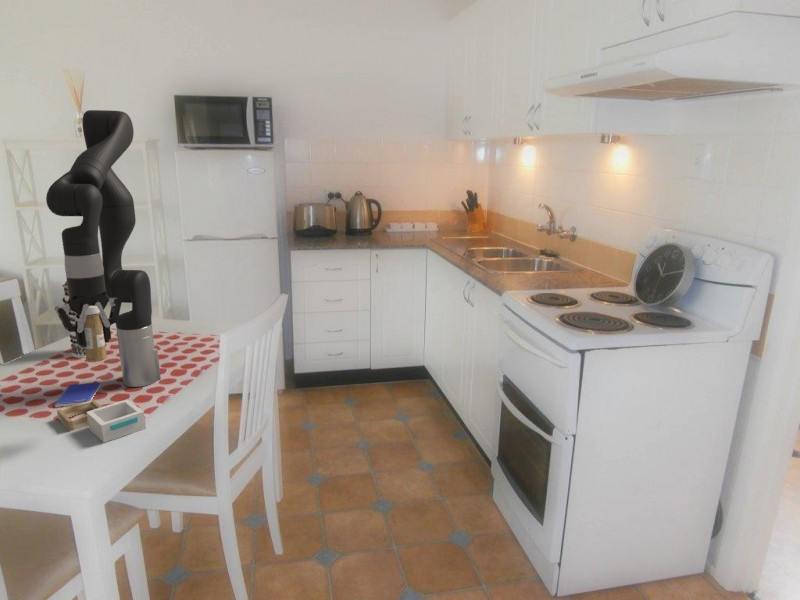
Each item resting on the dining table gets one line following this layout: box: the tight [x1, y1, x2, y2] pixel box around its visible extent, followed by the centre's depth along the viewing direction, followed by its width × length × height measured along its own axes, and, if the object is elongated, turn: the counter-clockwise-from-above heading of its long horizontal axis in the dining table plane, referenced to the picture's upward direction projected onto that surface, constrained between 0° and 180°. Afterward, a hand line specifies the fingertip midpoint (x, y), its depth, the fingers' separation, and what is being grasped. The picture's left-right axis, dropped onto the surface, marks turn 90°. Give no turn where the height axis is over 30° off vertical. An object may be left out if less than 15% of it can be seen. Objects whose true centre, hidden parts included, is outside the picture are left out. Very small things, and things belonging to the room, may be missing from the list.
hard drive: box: [54, 382, 102, 408], centre depth 152 cm, size 2×8×12 cm
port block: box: [86, 399, 147, 444], centre depth 134 cm, size 10×10×4 cm
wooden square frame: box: [56, 399, 103, 432], centre depth 139 cm, size 9×9×2 cm
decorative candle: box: [61, 280, 86, 359], centre depth 179 cm, size 9×9×25 cm
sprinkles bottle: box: [83, 305, 108, 363], centre depth 129 cm, size 5×5×13 cm
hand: (94, 343), depth 130 cm, fingers closed on sprinkles bottle, 4 cm apart
